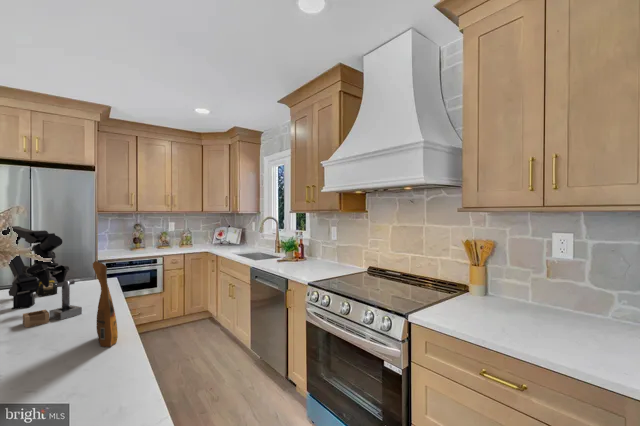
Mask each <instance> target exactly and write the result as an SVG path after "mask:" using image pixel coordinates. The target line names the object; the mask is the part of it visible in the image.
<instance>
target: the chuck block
mask: <svg viewBox="0 0 640 426" xmlns="http://www.w3.org/2000/svg"><path fill="white" fill-rule="evenodd" d="M82 311H83V310H82V306H76V305H71V304H70V309H69V310H65V311H62V306H61V307H57V308H54V309H50V310H49V311H48V312H49V319H50V318H51V319H55V320H58V321H59V320H60V321H62V320H65V319H69V318H73V317H76V316H79V315H83V314H82V313H83V312H82Z"/></svg>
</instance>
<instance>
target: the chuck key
mask: <svg viewBox="0 0 640 426" xmlns="http://www.w3.org/2000/svg"><path fill="white" fill-rule="evenodd" d="M75 283H76V281H75V280H73V279H72V280H64V281H63V282H61V283H58V282H56V283H55V284H56V286H57V288H61V307H62V311H65V310H69V309H70V305H71V304H70V302H71V299H70V298H71V297H70V296H71V295H70V294H71V290H70V289H71V287H70V286H71V285H75Z"/></svg>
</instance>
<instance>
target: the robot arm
mask: <svg viewBox="0 0 640 426" xmlns="http://www.w3.org/2000/svg"><path fill="white" fill-rule="evenodd" d="M6 227H7V230H4V229H2V230H1V231H2V234H3V235H7V234H9V232H10V229H9V227H10V226H6ZM12 228H13V231H14V232H16V233H17V234H18V237H17V240H16V244H17V246H18V245H19V241H20V240H21V239H24V241H25V242H26V243H28V244H30V245H31V244H33V245H32V247H31V248H32V250H31V249H30V251H31V252H33V254H34V255H35V254H37V255H40V256H41V257H43V258H52V260H51V261H52V262H53V263H51V262H43V261H38V260H35V259H34V260H33V264H32V265H29V266H28V265H25V264H24V261H23V260H22V257H21V255H20V254H19V256H16V257H15V258H14V259H13V260H11V262H10V264H8V266H9V268H10V270H11V272H12V275H13V280H12V283H11V285H12V286H11V287H10V289H9V290H8V295H9V296H10V297H12V307H10V309H11V310H15V309H16V310H18V309H27V308H28V309H29V308H31V307H32V306H33V305H35V304H36V302H35V300H36V297H35V296H36V295H34V293H36V292H37V290H38V286H39V282H38V280H40V281H41V282H42V284H43V285H44V286H45V287H49V272H50V275H51V278H52V277H53V278H54V279H55V281H56V283H61V282H63V281H66V280H65V279H66V277H67V274H68V272H69V271H70V266H68V265H63V264H60V265H59V262H57V263H56V260H55V259H56V257H57V256H56V254H55V255H52V252H51V251H53V252H54V250H55V249H57V248H59V247H60V246H61V245H62V244H63V239H62V238H61V237H60V236H58V235H56V234H55V232H54V233H53V232H52V233H49V232H48V230H44V229H43V230H33V229H29V228H25V227H21V226H20V225H19V226H18V225H16V226H14V225H13V226H12ZM54 258H55V259H54Z"/></svg>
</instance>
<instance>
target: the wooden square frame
mask: <svg viewBox="0 0 640 426" xmlns="http://www.w3.org/2000/svg"><path fill="white" fill-rule="evenodd" d="M49 323H50V317H49V311H48V310H47V309H40V310H35V311H31V312H25V313H22V325H23V326H24V328H31V327H35V326H40V325H41V326H42V325H43V324H49Z"/></svg>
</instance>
